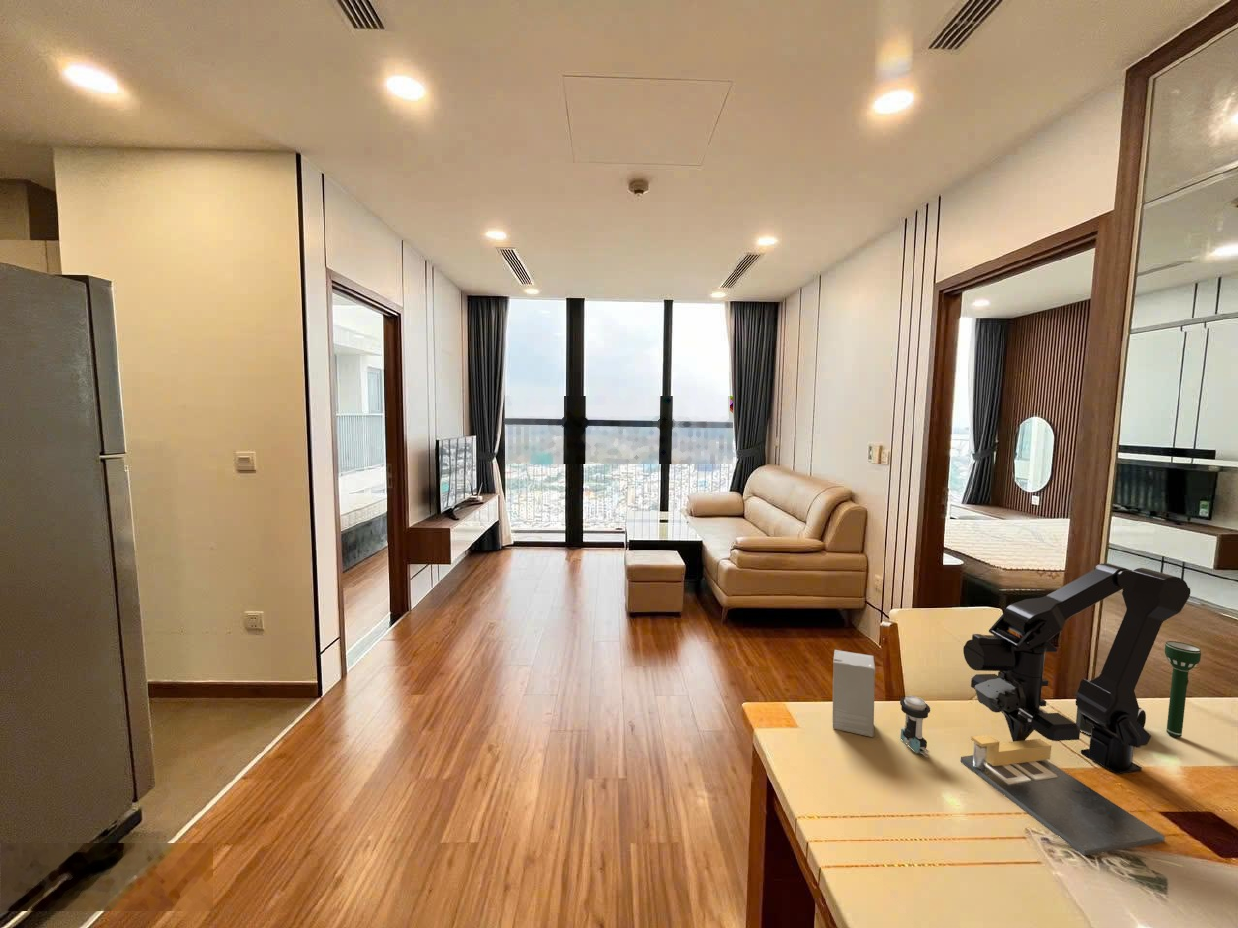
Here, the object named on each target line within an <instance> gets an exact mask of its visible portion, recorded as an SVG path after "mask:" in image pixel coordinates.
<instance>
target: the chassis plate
mask: <svg viewBox="0 0 1238 928" xmlns="http://www.w3.org/2000/svg"><path fill="white" fill-rule="evenodd" d="M960 762H961V763H962V764H963V765H964V766H966V767H967V768H968V769H970V770H971V771H973V772H974V773H975V774H976V775H977V776H978V777H980V778H981V779H982V780H984V781H985V782H986V783H988V784H989V785H990V786H992V787H993V788H994V789H995V790H997V791H998V792H999V793H1001V794H1002V795H1003V796H1004V797H1006V798H1008V799H1009V800H1010V801H1011V802H1012V803H1014V804H1015V805H1016V806H1017V807H1019V808H1020V809H1022V810H1023V811H1025V812H1026V813H1027V814H1028V815H1029V816H1030V817H1032V818H1034V819H1035V820H1036V821H1037V822H1039V823H1040V824H1041V825H1042V826H1044V827H1045V828H1047V829H1048V831H1049V830H1050V832H1052V833H1053V834H1054V835H1056V836H1057V835H1058V836H1057V837H1059V836H1060V837H1061V838H1062V839H1064V840H1065V841H1066V842H1068V843H1069V844H1070V845H1071V846H1070V845H1069V844H1068V843H1067V844H1068V845H1069V846H1070V847H1072V846H1073V847H1074V848H1075V849H1074V848H1073V847H1072V848H1073V849H1074V850H1076V851H1077V852H1078V851H1079V854H1081V855H1082V856H1084V857H1086V855H1087V856H1092V855H1098V854H1103V853H1102V852H1104V853H1107V852H1113V851H1114V852H1115V851H1120V850H1125V849H1131V848H1134V847H1135V848H1136V847H1141V846H1146V845H1152V844H1153V845H1154V844H1158V843H1163V842H1165V840H1166V839H1165V838H1166V836H1165V835H1164V834H1163V833H1161V832H1159V831H1157V830H1156V829H1155V828H1153V827H1151V826H1150V825H1149V824H1147V823H1146V822H1143V820H1141V819H1139V818H1137V817H1136V816H1134V815H1133V814H1132V813H1130V812H1129V811H1126V810H1125V809H1124V808H1122V807H1121V806H1119V805H1118V804H1116V803H1115V802H1113V801H1111V800H1110V799H1108V798H1106V797H1105V796H1103V794H1100V793H1099V792H1097V791H1096V790H1094V789H1092V788H1091V787H1090V786H1088V785H1086V784H1084V783H1083V782H1082V781H1080V780H1078V779H1077V778H1075V777H1073V776H1072V775H1071V774H1069V773H1067V772H1066V771H1064V770H1063V769H1061V768H1060V767H1058V765H1055V764H1053V763H1052V762H1050V761H1049V760H1040V761H1036V762H1037V763H1039V764H1040V765H1042V766H1043V767H1045V768H1046V769H1048V770H1050V771H1051V772H1053V773H1054V774H1056V775H1057V777H1055V778H1049V779H1042V780H1034V779H1032V778H1031V777H1030V776H1028V775H1027V774H1025V773H1024V772H1022V771H1021V770H1020V769H1018V768H1017V767H1015V766H1014V765H1012V764H1009V765H1011V766H1012V767H1014V768H1015V769H1017V770H1018V771H1019V772H1021V773H1022V774H1024V775H1025V776H1027V777H1028V778H1029V779H1031V781H1028V782H1021V783H1015V784H1007V783H1006V782H1004V781H1003V780H1002V779H1000V778H999V777H998V776H996V775H995V774H994V773H992V772H991V771H990V770H988V769H987V768H985V770H979V769H977V768H975V767H974V766H973V754H972V755H964V756H961V757H960ZM1060 837H1059V838H1060ZM1061 838H1060V839H1061ZM1062 839H1061V840H1062ZM1064 840H1063V841H1064ZM1065 841H1064V842H1065ZM1066 842H1065V843H1066ZM1091 854H1092V855H1091Z"/></svg>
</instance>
